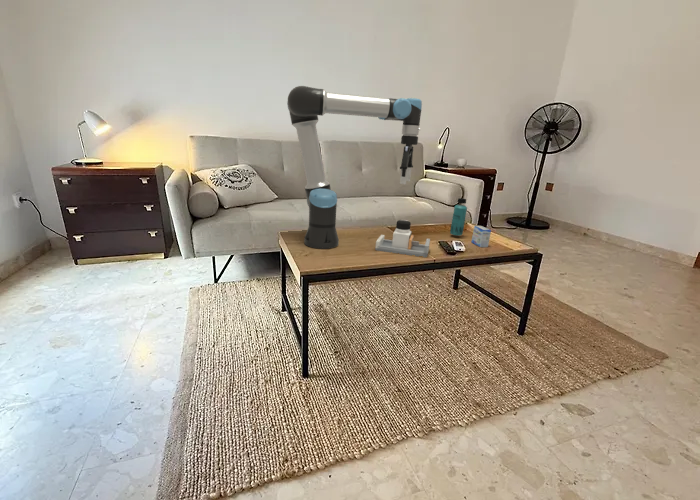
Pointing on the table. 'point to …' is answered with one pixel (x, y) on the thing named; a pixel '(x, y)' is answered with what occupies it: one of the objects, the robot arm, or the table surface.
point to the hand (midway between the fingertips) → (405, 182)
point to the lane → (387, 247)
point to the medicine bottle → (402, 234)
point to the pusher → (412, 242)
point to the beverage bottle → (458, 218)
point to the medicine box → (481, 236)
